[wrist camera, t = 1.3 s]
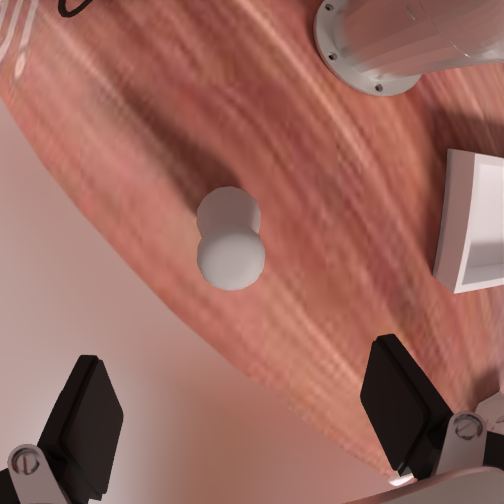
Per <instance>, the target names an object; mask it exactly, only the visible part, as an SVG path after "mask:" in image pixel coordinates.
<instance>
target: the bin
mask: <svg viewBox="0 0 504 504" xmlns="http://www.w3.org/2000/svg"><path fill="white" fill-rule="evenodd" d="M432 276H433V277H434V278H435V279H437V280H438V281H439V282H440V283H442V284H443V285H444V286H445V287H446V288H448V289H449V290H450V291H451V292H452V293H454V294H455V293H461V292H466V291H472V290H477V289H482V288H488V287H493V286H498V285H503V284H504V158H503V157H498V156H493V155H487V154H481V153H475V152H469V151H463V150H456V149H449V148H447V167H446V181H445V192H444V202H443V211H442V219H441V226H440V233H439V240H438V246H437V252H436V258H435V263H434V269H433V274H432Z"/></svg>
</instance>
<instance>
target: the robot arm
mask: <svg viewBox="0 0 504 504" xmlns="http://www.w3.org/2000/svg"><path fill="white" fill-rule="evenodd" d="M326 8H327V9H328V10H329V11H328V10H327V9H326ZM313 31H314V39H315V43H316V47H317V50H318V52H319V54H320V56H321V58H322V60H323V61H324V63H325V64H326V66H327V67H328V69H329V70H330V71H331V72H332V73H333V74H334V75H335V76H336V77H337V78H338V79H339V80H341V81H342V82H343V83H345V84H346V85H347V86H349V87H351V88H353V89H354V90H356V91H359V92H362V93H364V94H367V95H372V96H392V95H397V94H400V93H403V92H405V91H407V90H408V89H410V88H411V87H413V85H414V84H415V83H416V82H417V81H418V80H419V78H420V77H421V75H422V74H424V73H430V72H436V71H441V70H447V69H454V68H461V67H468V66H476V65H484V64H495V63H504V0H324V1H323V2H322V4H321V5H320V7H319V8H318V10H317V13H316V15H315V18H314V25H313ZM329 56H331V57H332V60H331V59H330V58H329ZM375 87H376V88H377V91H376V89H375ZM360 399H361V402H362V405H363V407H364V409H365V411H366V413H367V415H368V417H369V420H370V422H371V424H372V426H373V428H374V430H375V432H376V434H377V437H378V439H379V441H380V443H381V445H382V447H383V450H384V452H385V454H386V456H387V458H388V461H389V463H390V465H391V467H392V469H393V470H394V471H398V473H399V475H400V477H401V476H404V475H407V474H410V473H412V474H413V476H414V478H415V480H414V483H412V484H409V485H406V486H403V487H400V488H397V489H394V490H390V491H388V492H384V493H380V494H377V495H374V496H370V497H367V498H363V499H360V500H356V501H352V502H347V503H343V504H504V435H502V434H499V433H495V432H491V431H487V425H486V423H485V420H484V419H483V418H482V417H481V416H480V415H478V414H477V413H474V412H472V411H460V412H458V413H456V414H453V412H452V411H451V410H450V408H449V407H448V405H447V404H446V402H445V401H444V400H443V398H442V397H441V395H440V394H439V393H438V391H437V390H436V388H435V387H434V386H433V384H432V383H431V381H430V380H429V379H428V377H427V376H426V375H425V373H424V372H423V370H422V369H421V368H420V367H419V366H418V364H417V363H416V362H415V360H414V359H413V358H412V356H411V355H410V354H409V352H408V351H407V350H406V348H405V347H404V346H403V345H402V343H401V342H400V341H399V339H398V338H397V337H396V335H395V334H387V335H381V336H378V337H377V339H376V341H373V343H372V347H371V351H370V356H369V360H368V365H367V369H366V373H365V377H364V381H363V385H362V389H361V393H360ZM122 423H123V411H122V408H121V406H120V403H119V401H118V399H117V396H116V394H115V392H114V389H113V387H112V384H111V381H110V379H109V376H108V374H107V371H106V368H105V366H104V363H103V361H102V360H99V359H98V357H97V356H95V355H81V356H80V357H79V359H78V360H77V362H76V364H75V366H74V368H73V370H72V372H71V374H70V376H69V378H68V380H67V382H66V384H65V386H64V388H63V390H62V391H61V393H60V395H59V397H58V399H57V401H56V403H55V405H54V408H53V409H52V412H51V414H50V416H49V418H48V421H47V423H46V425H45V427H44V430H43V432H42V434H41V437H40V439H39V441H38V444H37V446H35V445H32V444H24V445H20V446H18V447H16V448H15V449H14V450H13V451H12V452H11V453H10V455H9V458H8V462H7V463H8V468H6V469H4V470H2V471H0V504H88V501H89V499H94V500H99V501H101V498H102V494H105V493H106V492H107V489H108V484H109V479H110V474H111V469H112V465H113V461H114V456H115V452H116V448H117V443H118V439H119V435H120V431H121V427H122Z"/></svg>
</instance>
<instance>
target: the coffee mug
mask: <svg viewBox="0 0 504 504" xmlns="http://www.w3.org/2000/svg"><path fill="white" fill-rule="evenodd" d="M91 1H93V0H85V1H84V2H83V3H82V4H81V5H80V6H79V7H77V8H76V9H74V10H72V11H71V12H68V11H67V10H66V7H65V3H66V0H59V2H58V11H59V13H60V14H61V16H62V17H68V18H69V17H73V16H75V15H76V14H78V13H79V12H80V11H82V10H83V9H84V8H85V7H86V6H87V5H88V4H89V3H90V2H91Z"/></svg>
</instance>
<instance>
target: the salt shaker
mask: <svg viewBox="0 0 504 504" xmlns="http://www.w3.org/2000/svg"><path fill="white" fill-rule="evenodd" d="M260 217H261V213H260V210H259V207H258V204H257V201H256V200H255V199H254V198H253V197H252V196H251V195H250V194H249V193H248V192H247V191H245V190H242V189H239V188H236V187H233V186H228V187H221V188H216V189H215V190H213V191H212V192H210V193H209V194H208V195H206V196H205V197H204V198H203V200H202V202H201V204H200V205H199V207H198V209H197V226H198V229H199V231H200V234H201V237H202V239H201V241H200V243H199V245H198V250H197V264H198V267H199V269H200V271H201V273H202V275H203V277H204V279H206V280H207V281H208V282H209V283H210V284H212V285H213V286H214V287H216V288H220V289H224V290H228V291H230V290H238V289H244V288H245V287H247V286H248V285H250V284H252V283H253V282H255V281H256V279H257V278H258V277H259V275H260V274H261V272H262V271H263V268H264V259H265V249H264V246H263V244H262V241H261V238H260V236H259V235H258V232H259V228H260Z"/></svg>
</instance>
